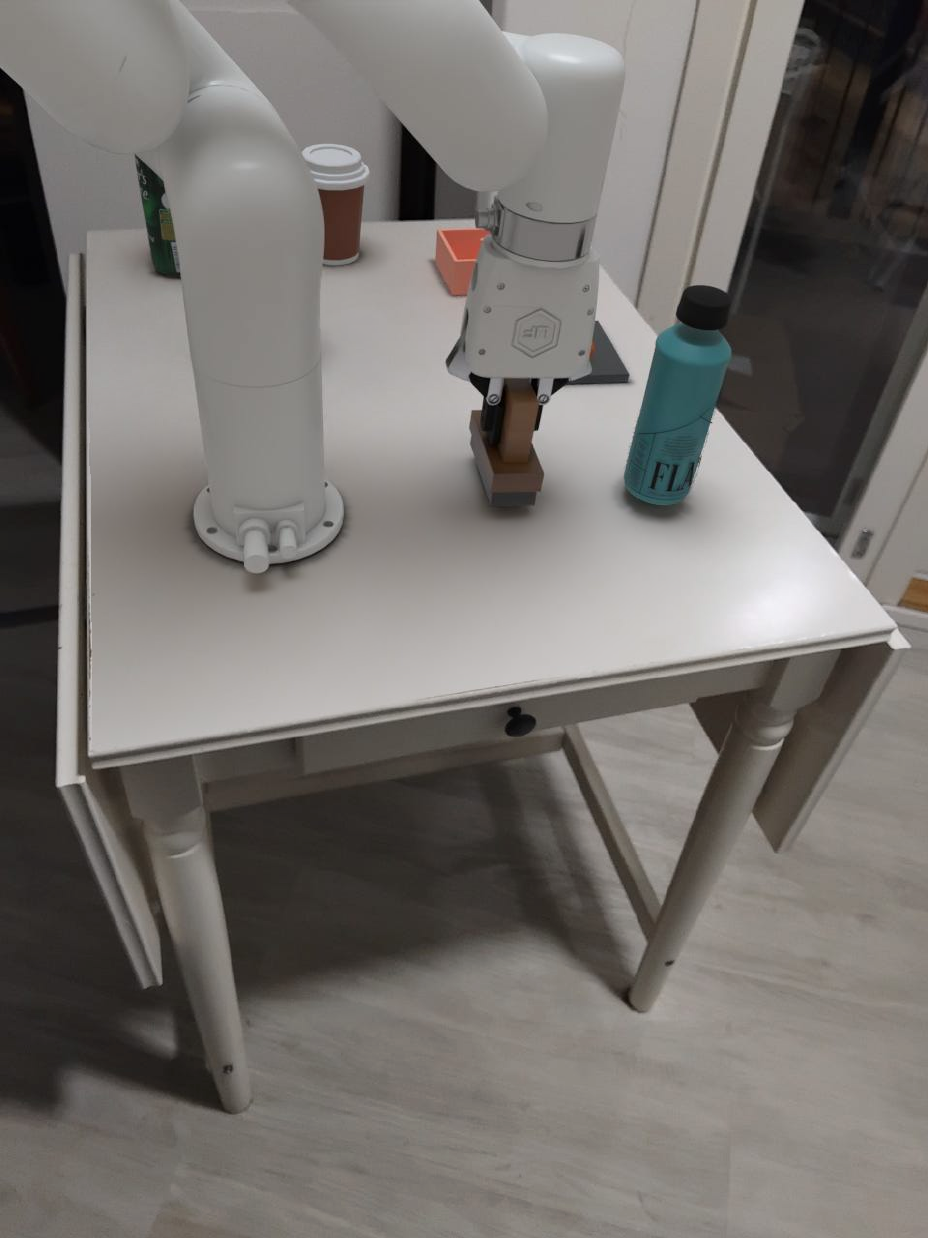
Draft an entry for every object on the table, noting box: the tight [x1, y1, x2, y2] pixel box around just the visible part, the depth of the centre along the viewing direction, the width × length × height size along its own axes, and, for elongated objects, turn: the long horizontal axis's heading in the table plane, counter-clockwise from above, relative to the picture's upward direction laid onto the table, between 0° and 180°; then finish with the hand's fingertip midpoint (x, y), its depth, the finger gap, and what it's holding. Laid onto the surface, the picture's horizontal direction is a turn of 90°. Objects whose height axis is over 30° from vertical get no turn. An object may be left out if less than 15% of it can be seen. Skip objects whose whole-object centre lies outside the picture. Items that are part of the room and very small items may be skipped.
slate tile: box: [528, 320, 631, 385], centre depth 105 cm, size 12×12×1 cm
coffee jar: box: [133, 154, 181, 277], centre depth 108 cm, size 10×8×19 cm
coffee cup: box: [301, 143, 371, 266], centre depth 115 cm, size 9×9×12 cm
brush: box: [468, 378, 545, 507], centre depth 83 cm, size 10×4×10 cm, turn 11°
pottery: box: [434, 227, 491, 296], centre depth 111 cm, size 18×10×10 cm, turn 14°
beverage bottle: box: [623, 284, 732, 506], centre depth 81 cm, size 6×7×20 cm
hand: (507, 434), depth 83 cm, fingers closed on brush, 2 cm apart
